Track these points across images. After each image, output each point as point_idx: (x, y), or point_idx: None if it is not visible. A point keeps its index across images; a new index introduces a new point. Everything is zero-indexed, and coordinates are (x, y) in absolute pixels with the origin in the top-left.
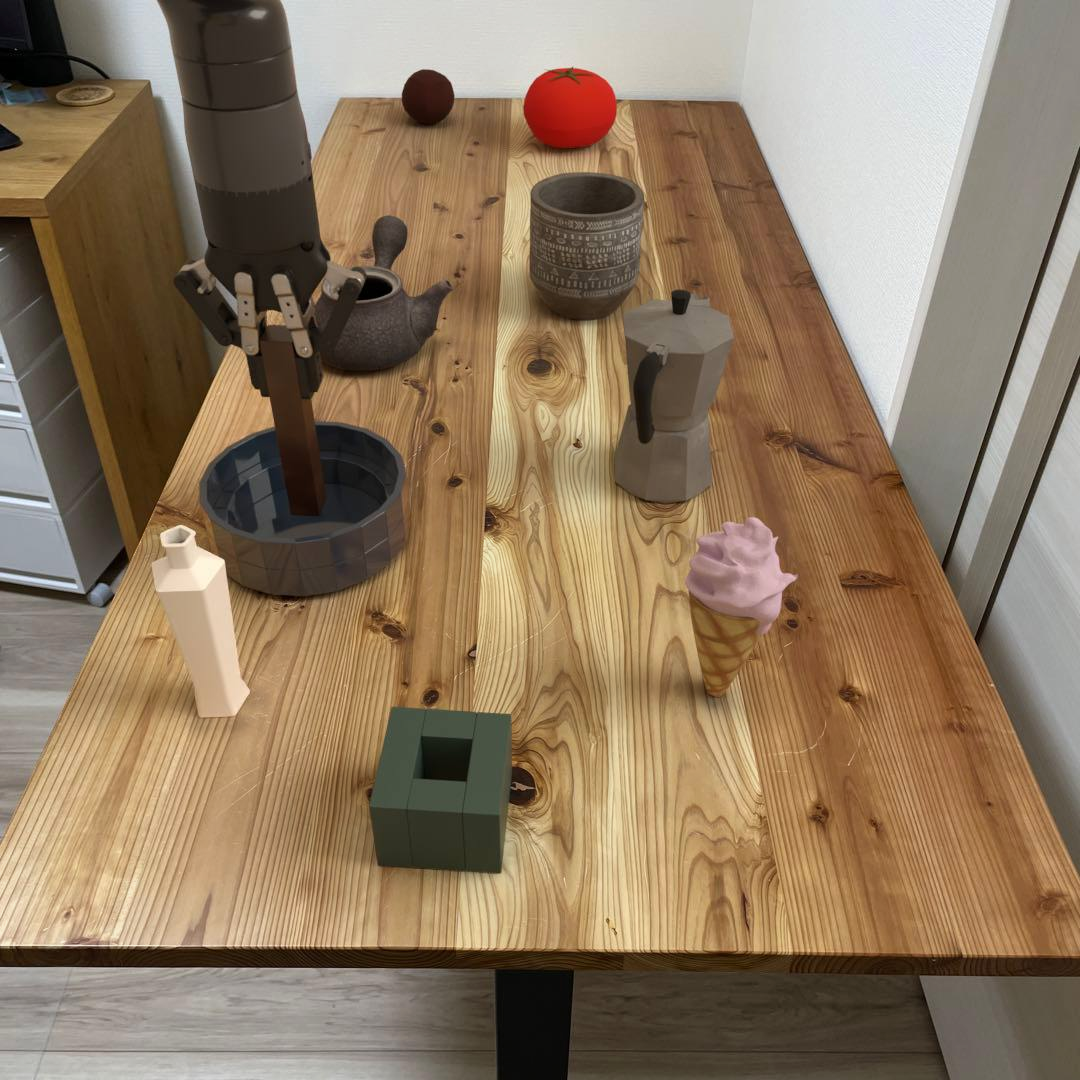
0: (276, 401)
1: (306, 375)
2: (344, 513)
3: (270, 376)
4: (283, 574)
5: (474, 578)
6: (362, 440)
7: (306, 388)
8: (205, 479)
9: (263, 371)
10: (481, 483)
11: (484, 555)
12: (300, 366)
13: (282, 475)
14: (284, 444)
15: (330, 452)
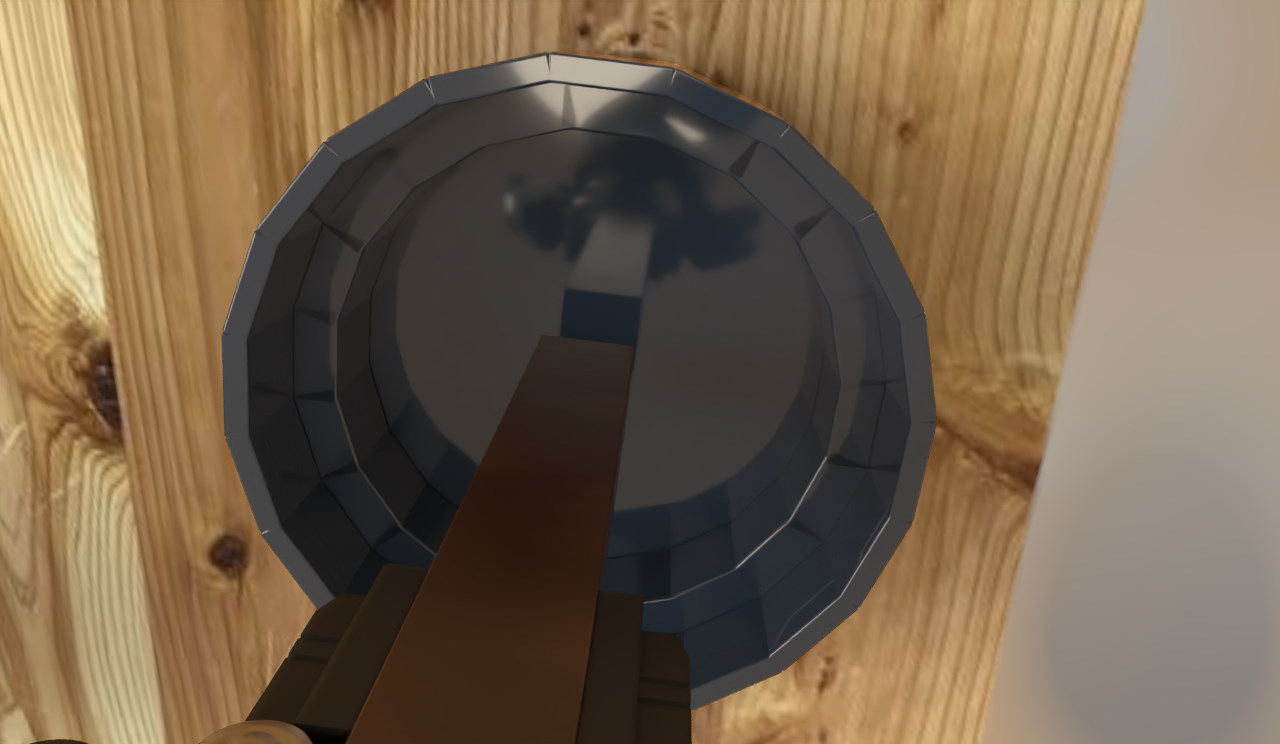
0: (568, 566)
1: (341, 647)
2: None
3: (558, 657)
4: (621, 57)
5: (101, 139)
6: None
7: (376, 593)
8: (916, 435)
9: (593, 683)
10: (154, 545)
11: (91, 239)
12: (343, 684)
13: (696, 561)
14: (590, 456)
15: None
